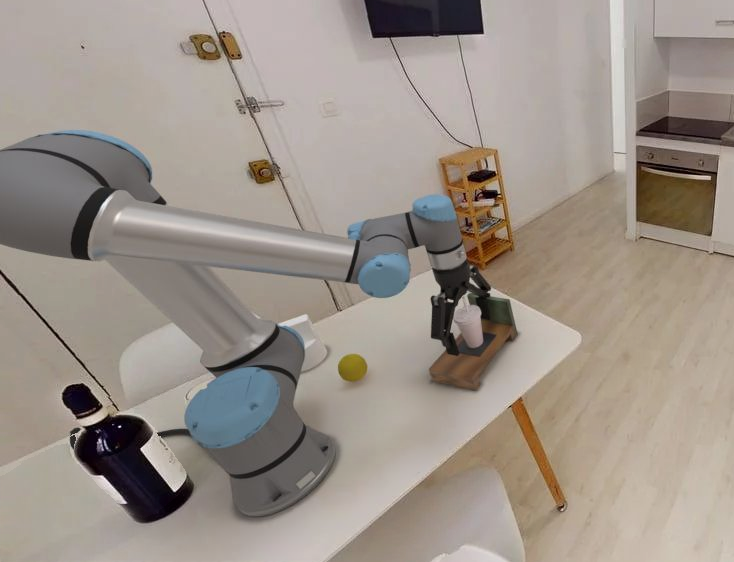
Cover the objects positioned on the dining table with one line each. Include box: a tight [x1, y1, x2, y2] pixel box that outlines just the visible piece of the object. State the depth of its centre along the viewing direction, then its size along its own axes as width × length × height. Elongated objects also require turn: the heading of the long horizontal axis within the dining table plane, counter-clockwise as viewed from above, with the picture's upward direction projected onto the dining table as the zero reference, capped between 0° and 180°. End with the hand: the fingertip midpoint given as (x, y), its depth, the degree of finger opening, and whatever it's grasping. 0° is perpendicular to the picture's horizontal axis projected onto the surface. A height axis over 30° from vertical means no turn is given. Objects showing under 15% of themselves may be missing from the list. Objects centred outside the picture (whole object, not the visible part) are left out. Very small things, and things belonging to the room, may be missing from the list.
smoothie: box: [453, 296, 483, 348], centre depth 99 cm, size 6×6×14 cm
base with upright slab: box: [278, 313, 328, 373], centre depth 102 cm, size 9×9×12 cm
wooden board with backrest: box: [428, 292, 518, 391], centre depth 102 cm, size 12×19×12 cm, turn 165°
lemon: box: [337, 353, 368, 383], centre depth 97 cm, size 6×6×8 cm
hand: (470, 335), depth 101 cm, fingers open, 12 cm apart
